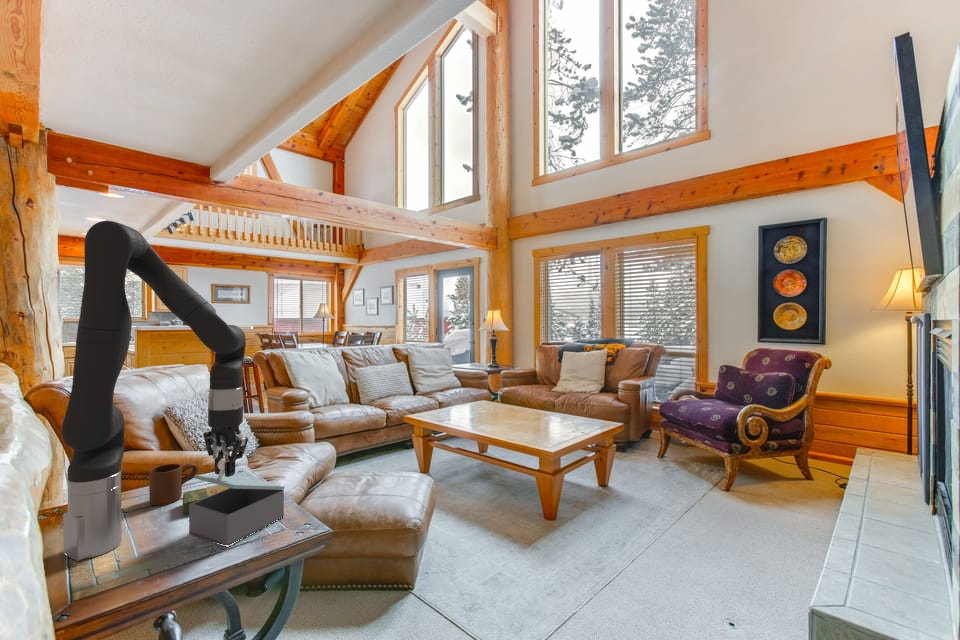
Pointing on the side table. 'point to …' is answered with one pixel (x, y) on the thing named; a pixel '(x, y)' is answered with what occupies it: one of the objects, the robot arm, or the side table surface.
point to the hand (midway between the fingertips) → (224, 474)
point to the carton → (199, 496)
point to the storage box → (234, 514)
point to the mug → (168, 482)
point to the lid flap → (237, 480)
